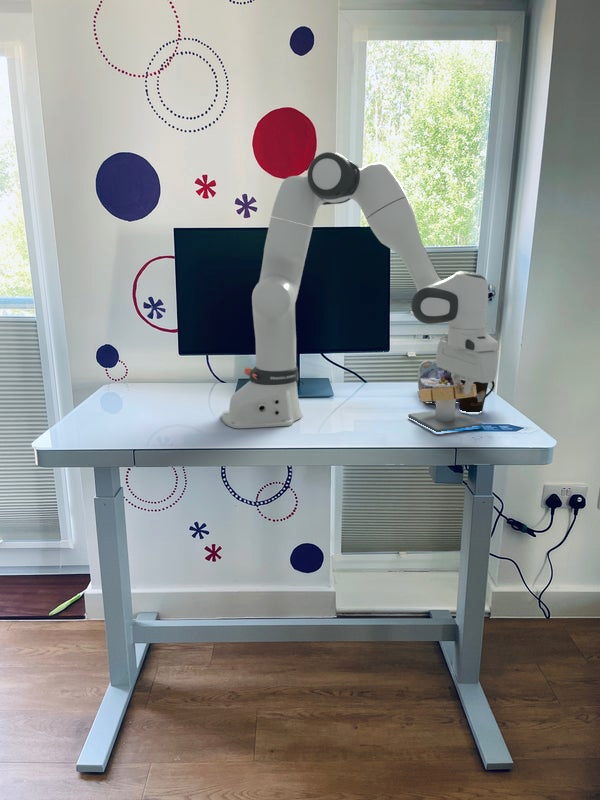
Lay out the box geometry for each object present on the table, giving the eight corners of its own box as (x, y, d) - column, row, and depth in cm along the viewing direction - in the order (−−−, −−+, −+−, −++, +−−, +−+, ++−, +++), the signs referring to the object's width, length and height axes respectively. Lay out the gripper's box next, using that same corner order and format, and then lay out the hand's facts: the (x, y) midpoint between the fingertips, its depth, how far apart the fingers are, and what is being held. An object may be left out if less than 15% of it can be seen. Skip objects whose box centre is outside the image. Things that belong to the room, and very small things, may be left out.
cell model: (448, 357, 188) (473, 373, 170) (445, 388, 192) (469, 408, 173) (409, 357, 187) (429, 374, 168) (407, 389, 190) (426, 409, 171)
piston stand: (437, 435, 149) (439, 403, 147) (408, 419, 162) (409, 389, 159) (482, 428, 154) (485, 397, 152) (450, 413, 166) (452, 384, 164)
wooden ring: (441, 400, 146) (440, 388, 146) (411, 401, 159) (410, 390, 159) (487, 394, 151) (485, 383, 151) (454, 396, 164) (453, 385, 164)
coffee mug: (459, 416, 164) (462, 381, 161) (451, 406, 173) (454, 374, 170) (500, 416, 164) (504, 381, 161) (491, 407, 172) (494, 374, 170)
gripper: (431, 332, 153) (428, 382, 157) (481, 346, 135) (476, 403, 139) (451, 330, 156) (447, 380, 160) (503, 344, 137) (498, 400, 141)
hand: (461, 391), depth 149 cm, fingers closed on wooden ring, 2 cm apart
